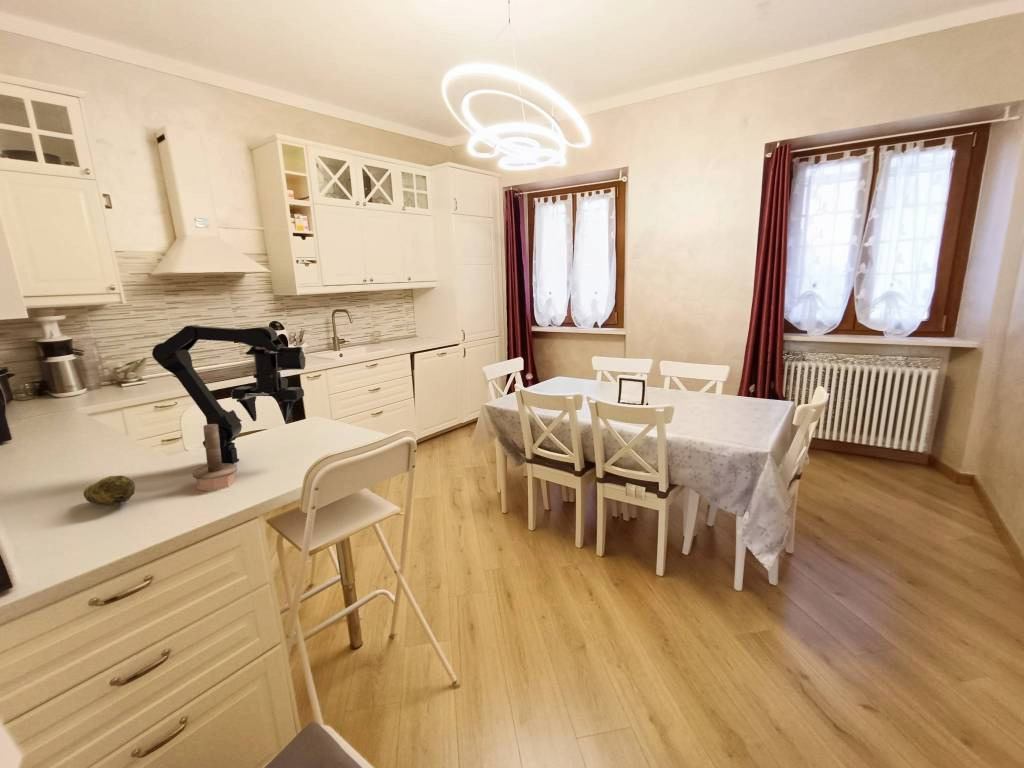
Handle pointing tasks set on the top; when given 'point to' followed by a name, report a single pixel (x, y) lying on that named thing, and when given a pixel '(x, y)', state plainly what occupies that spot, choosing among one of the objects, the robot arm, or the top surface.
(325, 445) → the top surface
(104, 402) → the top surface
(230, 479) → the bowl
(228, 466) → the peg on round base
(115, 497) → the avocado
